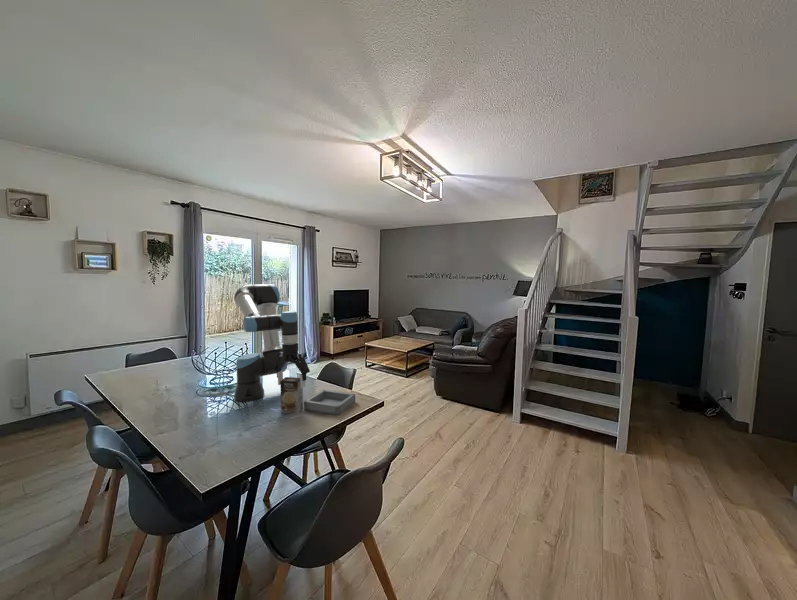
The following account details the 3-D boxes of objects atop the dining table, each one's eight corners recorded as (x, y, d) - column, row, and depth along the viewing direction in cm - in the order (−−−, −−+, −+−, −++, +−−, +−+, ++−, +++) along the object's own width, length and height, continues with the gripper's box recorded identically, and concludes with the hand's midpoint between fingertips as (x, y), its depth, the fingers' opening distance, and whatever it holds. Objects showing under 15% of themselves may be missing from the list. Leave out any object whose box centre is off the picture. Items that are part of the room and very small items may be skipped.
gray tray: (304, 410, 152) (303, 401, 152) (323, 397, 168) (323, 389, 168) (338, 416, 145) (338, 406, 145) (355, 402, 161) (355, 394, 161)
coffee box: (280, 413, 149) (279, 381, 148) (286, 407, 155) (285, 376, 154) (298, 413, 148) (297, 381, 147) (303, 408, 154) (302, 377, 153)
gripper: (264, 343, 150) (266, 385, 151) (306, 346, 141) (308, 390, 142) (275, 340, 157) (277, 380, 158) (316, 342, 148) (317, 385, 149)
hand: (291, 385), depth 150 cm, fingers open, 13 cm apart
